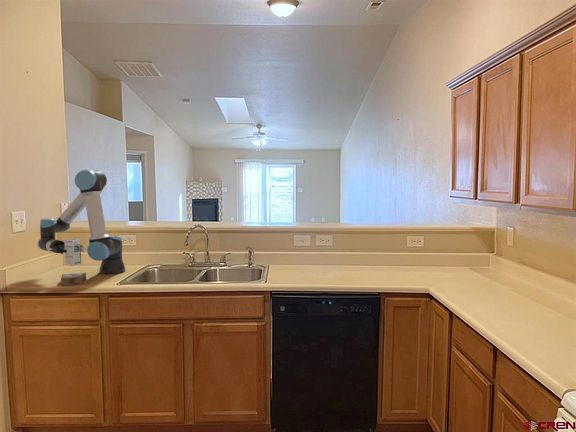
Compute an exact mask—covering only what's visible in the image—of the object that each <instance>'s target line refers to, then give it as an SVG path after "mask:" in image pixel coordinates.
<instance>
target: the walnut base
mask: <svg viewBox="0 0 576 432" xmlns="http://www.w3.org/2000/svg"><path fill="white" fill-rule="evenodd" d="M77 285H78V286H79V285H87V272H77V273H75V272H74V273H63V274H61V278H60V286H61V287H65V286H66V287H67V286H77Z"/></svg>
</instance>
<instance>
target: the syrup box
mask: <svg viewBox="0 0 576 432" xmlns="http://www.w3.org/2000/svg"><path fill="white" fill-rule="evenodd" d="M64 242H65V248H68V249H71V254H67V253H64V260H65V261H64V263H65V266H70V267H71V266H73V267H74V266H78V265H81V264H82V252H81V245H82V244H81V243H82V242H81V238H69V239H64Z"/></svg>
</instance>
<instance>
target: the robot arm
mask: <svg viewBox="0 0 576 432" xmlns="http://www.w3.org/2000/svg"><path fill="white" fill-rule="evenodd" d="M107 182H108V178H107V176H106V174H105V173H104V172H102V171H100V170H97V169H96V170H94V169H93V170H92V169H83V170H79V171H78V172H77V173H76V175H75V177H74V184H75V186H76V187H77V188H78V189H79V194H78V195H77V196H76V197H75V198H74V199H73V201H71V203H70V204H69V205H68V207H66V209H65V210H64V211H63V212H62V213H61V214H60V216H59V217H57V219H56V220H55V218H52V217H51V218H50V217H48V218H41V219H40V221H39V228H40V229H39V231H40V232H39V233H40V238H39V239H38V241H37V247H38V248H39V249H40V250H42V251H45V252H50V253H53V254H60V255H63V254H65V253H67V254H71V249H68V248H65V241H64V240H59V239H56V233H63V232H65V231H68V230H69V229H70V228H71V223H73V222H74V220H75V219H77V217H78V216H79V215H80V213H82V212H83V210H84V209H86V210H85V211H86V216H87V221H88V226H89V231H90V237H89V238H88V242H89V244H88V246H87V250H86V247H85V246H84V245H82V244H81V253H86V252H87V255H88V257H89V258H90V259H92V260H93V261H99V262H100V261H101V263H100V265H99V269H98V271H99V274H101V275H115V274H122V273H124V272H126V265H125V263H124V260H123V239H122V236H120V235H119V236H118V235H117V236H115V235H114V236H113V235H110V234H108V233H107V227H106V221H105V216H104V210H103V205H102V199H101V194H102V193H103V190H104V189H105V188H106V186H107Z"/></svg>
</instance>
